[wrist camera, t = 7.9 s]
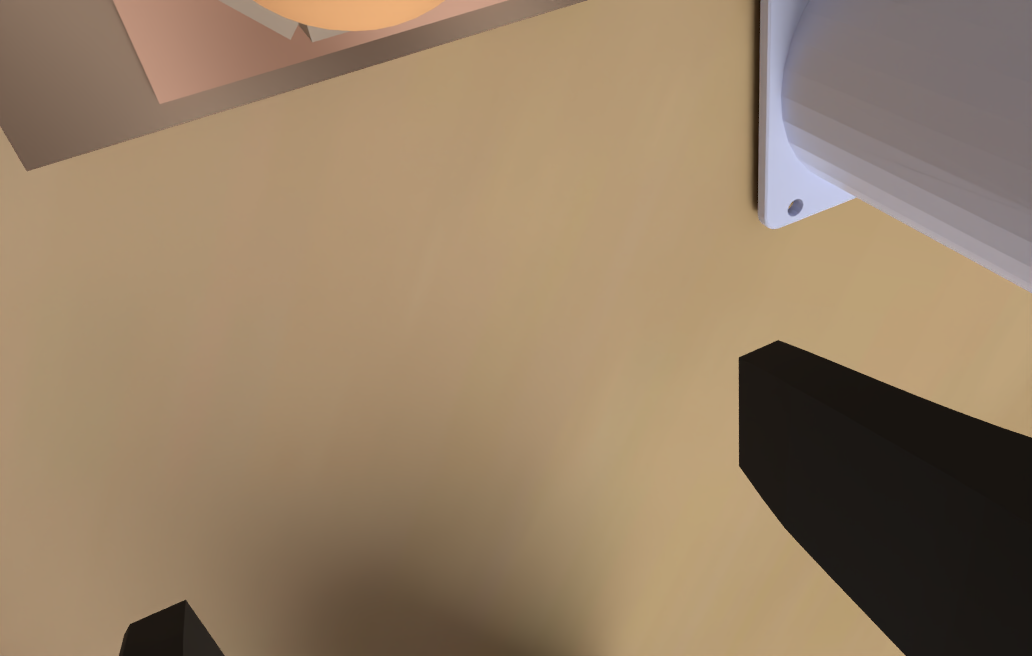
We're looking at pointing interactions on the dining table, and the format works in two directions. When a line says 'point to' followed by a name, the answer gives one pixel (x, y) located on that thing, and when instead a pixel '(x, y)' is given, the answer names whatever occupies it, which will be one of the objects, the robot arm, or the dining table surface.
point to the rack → (185, 62)
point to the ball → (350, 12)
